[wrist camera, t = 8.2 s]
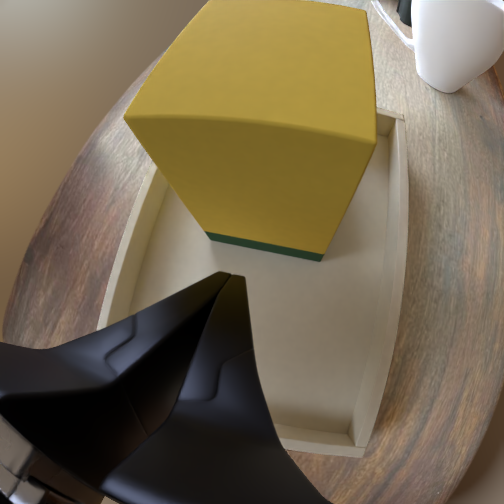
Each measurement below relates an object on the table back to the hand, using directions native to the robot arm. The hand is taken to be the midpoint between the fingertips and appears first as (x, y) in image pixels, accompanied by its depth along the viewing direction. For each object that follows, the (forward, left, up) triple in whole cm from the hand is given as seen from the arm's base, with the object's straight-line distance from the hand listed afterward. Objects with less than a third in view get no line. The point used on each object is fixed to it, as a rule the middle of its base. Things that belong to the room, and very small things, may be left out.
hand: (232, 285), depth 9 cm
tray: (+3, +2, -6) cm, 7 cm away
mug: (+25, +5, -6) cm, 26 cm away
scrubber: (+5, +4, -6) cm, 9 cm away
